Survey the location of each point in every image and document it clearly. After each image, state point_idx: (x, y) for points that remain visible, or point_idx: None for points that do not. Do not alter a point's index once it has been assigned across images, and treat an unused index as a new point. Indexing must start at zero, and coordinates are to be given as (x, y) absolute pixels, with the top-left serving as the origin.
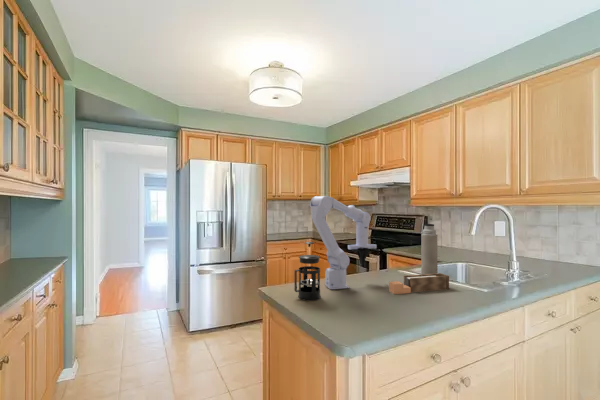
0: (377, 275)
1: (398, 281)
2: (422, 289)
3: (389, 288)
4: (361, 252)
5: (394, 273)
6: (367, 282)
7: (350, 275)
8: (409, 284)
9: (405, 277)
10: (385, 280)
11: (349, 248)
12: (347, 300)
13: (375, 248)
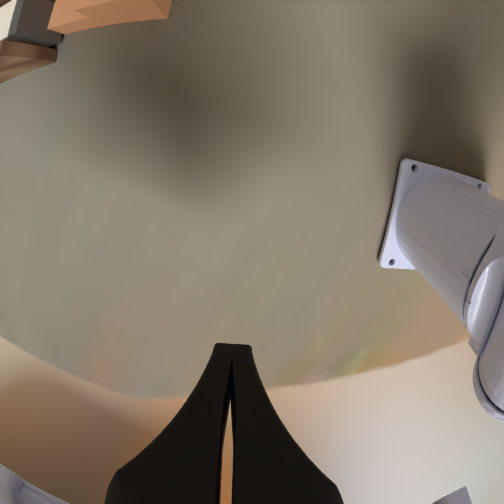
0: (90, 350)
1: (75, 6)
2: None
3: (163, 6)
4: (298, 479)
5: (22, 342)
6: (198, 251)
7: None
8: (41, 1)
9: (7, 42)
10: (72, 258)
11: (468, 498)
12: (478, 9)
13: (3, 466)
